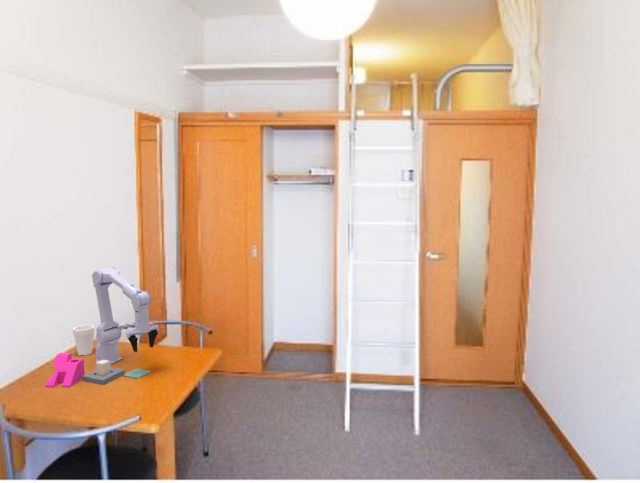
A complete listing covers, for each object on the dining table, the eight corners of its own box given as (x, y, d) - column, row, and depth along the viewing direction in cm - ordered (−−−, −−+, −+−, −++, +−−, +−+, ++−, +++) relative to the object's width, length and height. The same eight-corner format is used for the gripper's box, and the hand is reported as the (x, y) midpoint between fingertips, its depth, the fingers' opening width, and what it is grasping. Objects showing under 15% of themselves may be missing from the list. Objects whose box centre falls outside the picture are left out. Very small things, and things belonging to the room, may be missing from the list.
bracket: (61, 375, 209) (59, 353, 208) (84, 375, 209) (83, 353, 207) (45, 387, 197) (43, 363, 196) (70, 387, 197) (68, 363, 196)
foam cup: (70, 354, 234) (68, 328, 232) (87, 348, 242) (86, 323, 240) (82, 358, 229) (80, 331, 228) (99, 352, 237) (98, 326, 235)
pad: (123, 376, 208) (123, 375, 208) (136, 369, 215) (136, 368, 215) (137, 378, 205) (137, 377, 205) (150, 371, 213) (150, 370, 213)
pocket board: (81, 380, 203) (81, 376, 203) (103, 370, 215) (103, 365, 214) (103, 384, 199) (103, 380, 199) (124, 373, 210) (124, 369, 210)
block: (96, 378, 206) (95, 362, 205) (103, 374, 209) (102, 359, 209) (103, 379, 204) (102, 364, 203) (110, 376, 208) (109, 360, 207)
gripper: (130, 325, 203) (132, 355, 204) (161, 317, 213) (163, 347, 215) (122, 321, 207) (124, 351, 209) (153, 314, 218) (154, 343, 220)
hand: (143, 349), depth 212 cm, fingers open, 7 cm apart
